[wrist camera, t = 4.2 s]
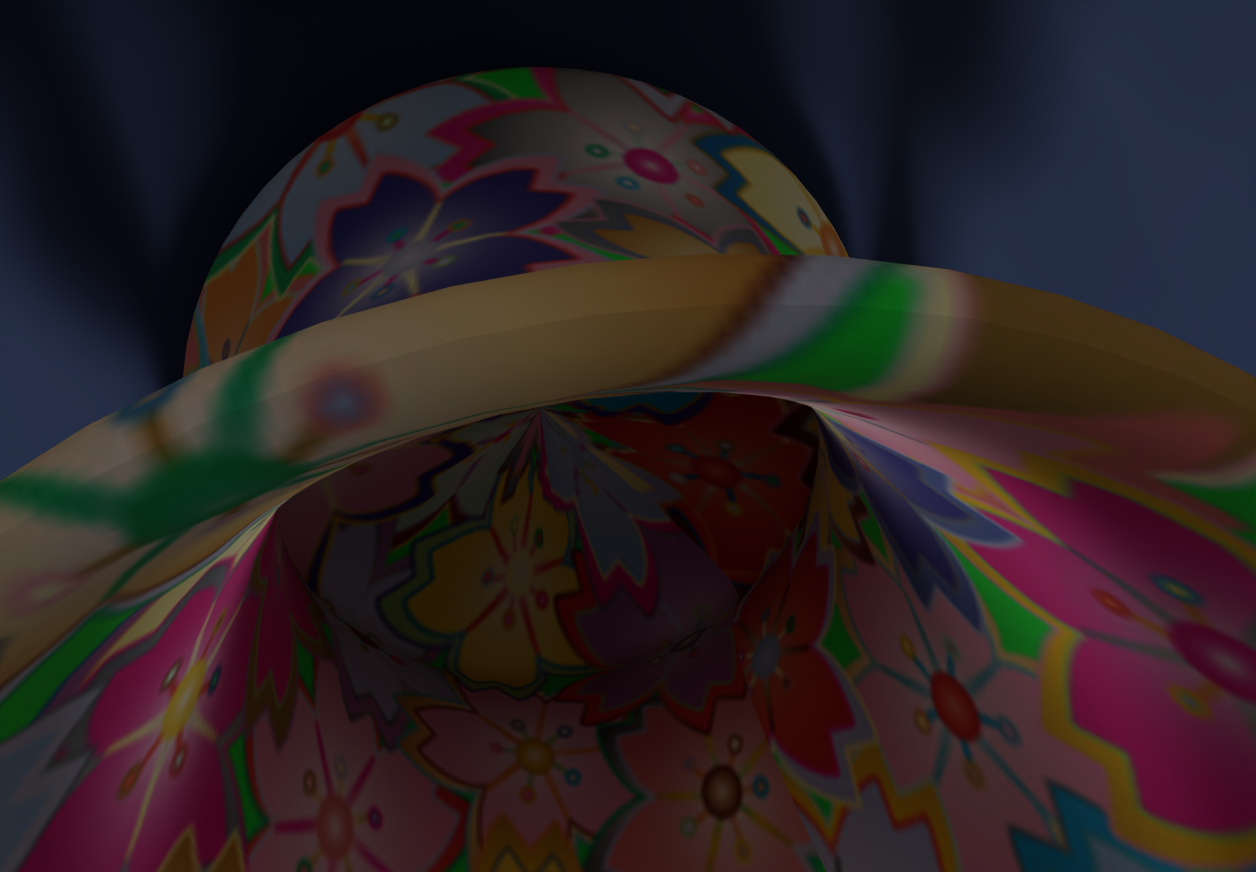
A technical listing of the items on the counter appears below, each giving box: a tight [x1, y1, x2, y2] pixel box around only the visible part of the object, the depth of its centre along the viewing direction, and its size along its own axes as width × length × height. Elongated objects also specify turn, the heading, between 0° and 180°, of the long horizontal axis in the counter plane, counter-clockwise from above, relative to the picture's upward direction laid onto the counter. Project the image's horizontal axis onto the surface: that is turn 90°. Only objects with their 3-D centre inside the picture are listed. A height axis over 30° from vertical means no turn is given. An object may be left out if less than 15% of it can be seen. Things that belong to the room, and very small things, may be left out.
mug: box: [0, 67, 1256, 872], centre depth 11 cm, size 12×9×11 cm
